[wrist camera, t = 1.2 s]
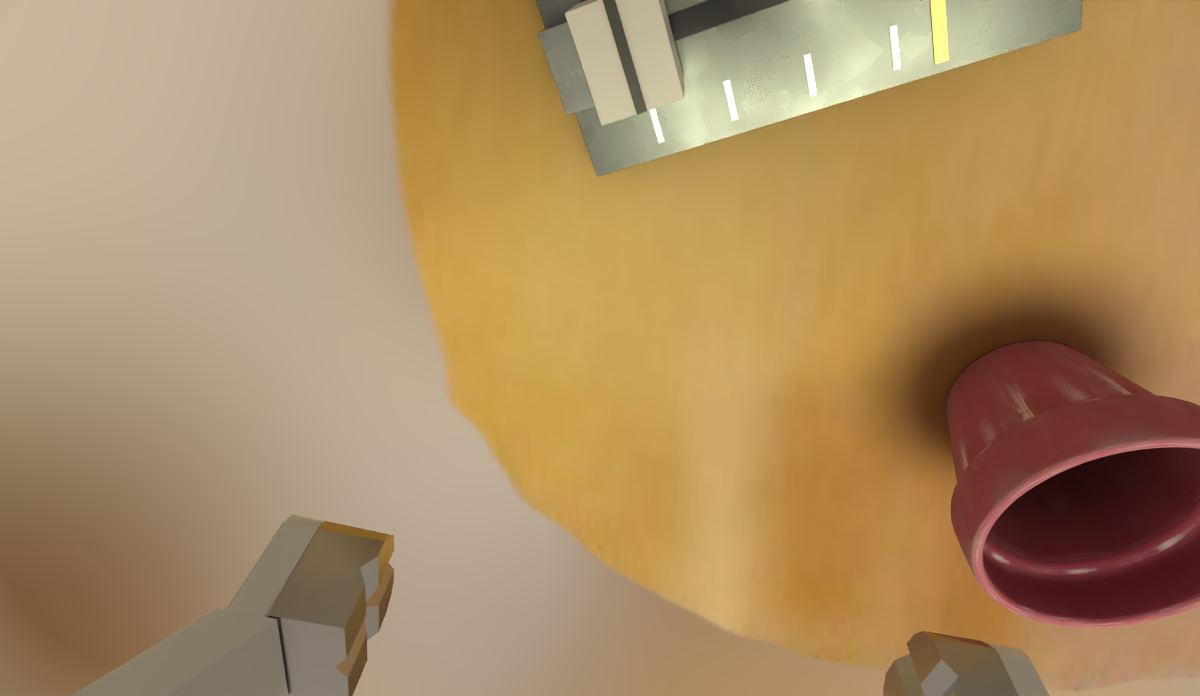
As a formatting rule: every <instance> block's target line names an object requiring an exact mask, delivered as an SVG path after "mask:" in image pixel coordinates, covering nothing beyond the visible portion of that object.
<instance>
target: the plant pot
mask: <svg viewBox="0 0 1200 696" xmlns="http://www.w3.org/2000/svg"><path fill="white" fill-rule="evenodd" d="M946 412H947V419H948V425H949V432H950V439H951V447H952V453H953V460H954V466H955V472H956V478H957V484H956V486H955V489H954V492H953V496H952V500H951V520H952V524H953V528H954V531H955V534H956V536H957V539H958V541H959V543H960V546H961V548H962V550H963V553H964V555H965V557H966V559H967V561H968V563H969V565H970V567H971V570H972V572H973V574H974V576H975V578H976V580H977V581H978V583H979V585H980V586H981V587H982V589H983V590H984V591H985V592H986V593H987V594H988V595H989V596H990V597H991V598H992V599H993V600H994V601H996V602H997V603H998V604H1000V605H1001V606H1003V607H1004V608H1006V609H1008V610H1010V611H1012V612H1014V613H1016V614H1019V615H1021V616H1023V617H1026V618H1029V619H1033V620H1036V621H1039V622H1044V623H1048V624H1054V625H1060V626H1069V627H1087V628H1095V627H1114V626H1124V625H1131V624H1138V623H1143V622H1148V621H1153V620H1157V619H1161V618H1165V617H1168V616H1172V615H1176V614H1179V613H1182V612H1185V611H1188V610H1190V609H1193V608H1196V607H1199V606H1200V406H1199V405H1196V404H1194V403H1191V402H1188V401H1184V400H1180V399H1176V398H1171V397H1165V396H1157V395H1154V394H1152V393H1151V392H1149V391H1147V390H1146V389H1144V388H1142V387H1141V386H1139V385H1137V384H1135V383H1134V382H1132V381H1130V380H1129V379H1127V378H1125V377H1123V376H1122V375H1120V374H1118V373H1116V372H1115V371H1113V370H1111V369H1109V368H1107V367H1106V366H1104V365H1102V364H1100V363H1098V362H1097V361H1095V360H1093V359H1091V358H1089V357H1088V356H1086V355H1084V354H1082V353H1081V352H1079V351H1077V350H1075V349H1073V348H1071V347H1069V346H1067V345H1064V344H1060V343H1056V342H1050V341H1028V342H1021V343H1015V344H1011V345H1008V346H1004V347H1002V348H999V349H997V350H994V351H992V352H990V353H988V354H986V355H984V356H983V357H981V358H979V359H978V360H976V361H975V362H973V363H972V364H971V365H970V366H969V367H967V368H966V369H965V370H964V371H963V372H962V374H961V375H960V376H959V377H958V378H957V380H956V381H955V383H954V384H953V386H952V388H951V390H950V392H949V395H948V399H947V406H946Z"/></svg>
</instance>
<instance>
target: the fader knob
mask: <svg viewBox="0 0 1200 696" xmlns="http://www.w3.org/2000/svg"><path fill="white" fill-rule="evenodd" d="M565 16H566V19H567V22H568V25H569V28H570V31H571V34H572V37H573V40H574V43H575V46H576V49H577V52H578V55H579V58H580V61H581V65H582V68H583V71H584V74H585V77H586V80H587V83H588V86H589V89H590V92H591V95H592V98H593V101H594V104H595V107H596V110H597V113H598V116H599V119H600V122H601V125H602V126H603V125H606V124H609V123H612V122H615V121H618V120H621V119H624V118H627V117H630V116H634V115H638V114H641V113H644V112H647V111H649V110H652V109H655V108H658V107H661V106H664V105H667V104H670V103H674V102H677V101H680V100H683V99H684V87H685V81H684V77H683V73H682V69H681V65H680V61H679V57H678V54H677V50H676V46H675V42H674V38H673V34H672V30H671V26H670V22H669V19H668V15H667V11H666V7H665V3H664V0H586V1H584V2H581V3H579V4H577V5H575V6H574V7H573V8H571V9H570V10H568V11H567V12H566V13H565Z"/></svg>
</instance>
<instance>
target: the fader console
mask: <svg viewBox="0 0 1200 696" xmlns="http://www.w3.org/2000/svg"><path fill="white" fill-rule="evenodd" d="M536 1H537V4H538V7H539V10H540V13H541V16H542V19H543V22H544V25H545V27H546V28H544V29H543V30H542V31H540V32H539V33H538V35H539V38H540V40H541V43H542V46H543V49H544V52H545V55H546V57H547V60H548V63H549V66H550V69H551V72H552V74H553V77H554V80H555V83H556V86H557V89H558V91H559V94H560V97H561V100H562V103H563V106H564V108H565V111H566V114H567V115H570V114H573V113H575V114H576V117H577V120H578V123H579V126H580V128H581V131H582V134H583V137H584V140H585V143H586V146H587V149H588V152H589V154H590V157H591V160H592V163H593V166H594V169H595V172H596V175H597V177H598V176H601V175H604V174H608V173H611V172H614V171H618V170H621V169H624V168H627V167H631V166H634V165H637V164H641V163H644V162H647V161H650V160H654V159H657V158H660V157H664V156H667V155H670V154H674V153H677V152H680V151H683V150H687V149H690V148H693V147H697V146H700V145H703V144H706V143H710V142H713V141H716V140H720V139H723V138H726V137H730V136H733V135H736V134H739V133H743V132H746V131H749V130H753V129H756V128H759V127H762V126H766V125H769V124H772V123H776V122H779V121H782V120H785V119H789V118H792V117H795V116H799V115H802V114H805V113H809V112H812V111H815V110H818V109H822V108H825V107H828V106H832V105H835V104H838V103H841V102H845V101H848V100H851V99H855V98H858V97H861V96H865V95H868V94H871V93H874V92H878V91H881V90H884V89H888V88H891V87H894V86H897V85H901V84H904V83H907V82H911V81H914V80H917V79H921V78H924V77H927V76H930V75H934V74H937V73H940V72H944V71H947V70H950V69H953V68H957V67H960V66H963V65H967V64H970V63H973V62H977V61H980V60H983V59H986V58H990V57H993V56H996V55H1000V54H1003V53H1006V52H1009V51H1013V50H1016V49H1019V48H1023V47H1026V46H1029V45H1033V44H1036V43H1039V42H1042V41H1046V40H1049V39H1052V38H1056V37H1059V36H1062V35H1065V34H1069V33H1072V32H1075V31H1079V30H1081V20H1082V0H664V3H665V7H666V11H667V15H668V19H669V22H670V26H671V30H672V34H673V38H674V42H675V46H676V50H677V54H678V57H679V61H680V65H681V69H682V73H683V77H684V81H685V87H684V99H683V100H680V101H677V102H674V103H670V104H667V105H664V106H661V107H658V108H655V109H652V110H649V111H647V112H644V113H641V114H638V115H634V116H630V117H627V118H624V119H621V120H618V121H615V122H612V123H609V124H606V125H603V126H602V125H601V122H600V119H599V116H598V113H597V110H596V107H595V104H594V101H593V98H592V95H591V92H590V89H589V86H588V83H587V80H586V77H585V74H584V71H583V68H582V65H581V61H580V58H579V55H578V52H577V49H576V46H575V43H574V40H573V37H572V34H571V31H570V28H569V25H568V22H567V19H566V16H565V13H566V12H567V11H568V10H570V9H571V8H573V7H574V6H575V5H577V4H579V3H581V2H584V1H586V0H536Z"/></svg>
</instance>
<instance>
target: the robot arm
mask: <svg viewBox="0 0 1200 696" xmlns="http://www.w3.org/2000/svg"><path fill="white" fill-rule="evenodd" d="M393 538H394V536H393V535H389V534H384V533H379V532H375V531H370V530H365V529H360V528H356V527H351V526H346V525H342V524H337V523H332V522H327V521H322V520H317V519H312V518H307V517H301V516H296V515H291V516H290V517H289V518H288V519H287V520H286V521H285V522H284V523H282V525H281V526H280V528H279V529H278V531H277V532H276V534H275V535H274V537H273V538H272V540H271V541H270V543H269V544H268V546H267V548H266V549H265V551H264V552H263V554H262V555H261V557H260V559H259V560H258V561H257V563H256V564H255V566H254V568H253V569H252V571H251V572H250V574H249V575H248V577H247V578H246V580H245V581H244V583H243V584H242V586H241V587H240V589H239V591H238V592H237V593H236V595H235V597H234V598H233V600H232V601H231V603H230V604H229V606H228V607H227V609H220V608H214V609H213V610H211V611H210V612H208V613H206V614H205V615H203V616H201V617H200V618H198V619H196V620H195V621H193V622H191V623H190V624H188V625H187V626H185V627H183V628H182V629H180V630H178V631H177V632H175V633H174V634H172V635H170V636H169V637H167V638H165V639H164V640H162V641H160V642H159V643H157V644H155V645H154V646H152V647H151V648H149V649H147V650H146V651H144V652H142V653H141V654H139V655H138V656H136V657H134V658H132V659H131V660H129V661H128V662H126V663H125V664H123V665H121V666H120V667H118V668H116V669H114V670H113V671H111V672H110V673H108V674H106V675H105V676H103V677H102V678H100V679H98V680H96V681H95V682H93V683H92V684H90V685H88V686H87V687H85V688H83V689H82V690H80V691H79V692H77V693H75V694H74V695H72V696H289V695H290V696H353V693H354V691H355V689H356V686H357V684H358V681H359V679H360V676H361V674H362V672H363V669H364V667H365V664H366V662H367V640H368V639H370V638H371V637H373V636H374V635H375V634H376V633H378V632H379V630H380V628H381V625H382V622H383V620H384V617H385V615H386V611H387V608H388V604H389V601H390V597H391V593H392V587H393V580H394V569H393V568H392V567H391V565H390V564H389V560H390V558H391V556H392V553H393V551H394V539H393ZM907 646H908V649H909V652H910V654H908V655H906V656H904V657H901V658H899V659H897V660H894V662H893V663H892V665H891V666H890V668H889V669H888V671H887V673H886V676H885V683H884V689H883V693H884V696H1049V694H1048V692H1047V690H1046V689H1045V687H1044V685H1043V683H1042V681H1041V679H1040V677H1039V675H1038V673H1037V671H1036V669H1035V667H1034V665H1033V664H1032V662H1031V660H1030V658H1029V657H1028V656H1027V655H1026V654H1025V653H1024V652H1023V651H1022V650H1021V649H1017V648H1013V647H1008V646H1002V645H996V644H990V643H984V642H982V641H978V640H973V639H967V638H961V637H955V636H949V635H943V634H937V633H931V632H925V631H922V632H919V633H916V634H914V635H913V636H912V638H911V639H910V640H909V641H908V643H907Z"/></svg>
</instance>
